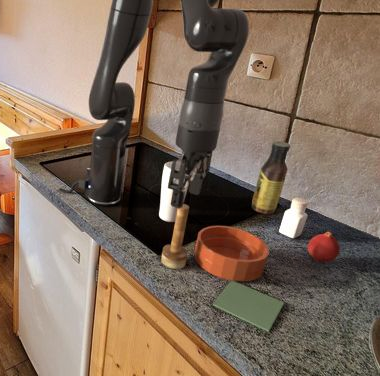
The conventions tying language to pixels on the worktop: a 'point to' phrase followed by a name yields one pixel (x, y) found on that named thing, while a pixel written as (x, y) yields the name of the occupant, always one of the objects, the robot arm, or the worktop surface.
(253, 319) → the mat
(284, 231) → the pepper shaker
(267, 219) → the worktop surface
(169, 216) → the drinking glass
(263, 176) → the sauce bottle
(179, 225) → the dish brush
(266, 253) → the bowl
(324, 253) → the onion
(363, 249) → the worktop surface
